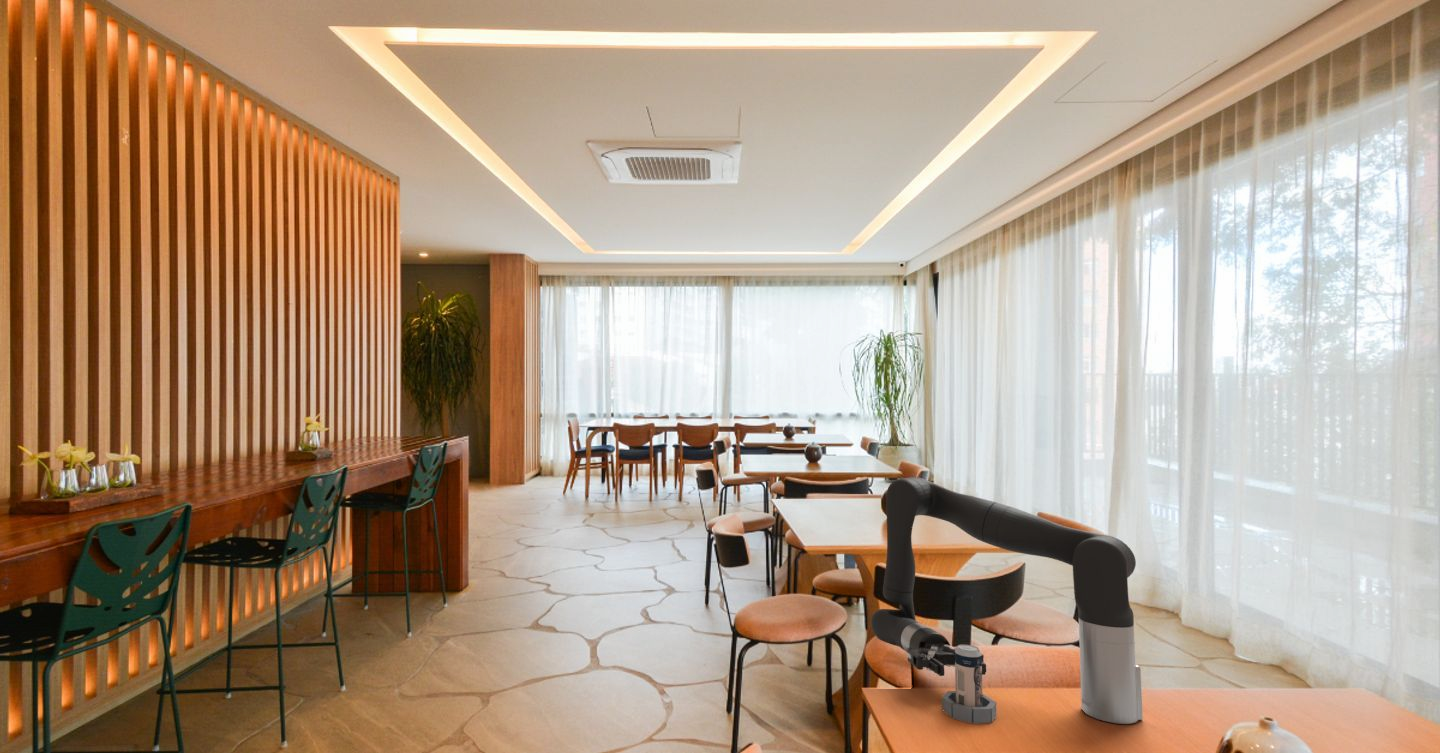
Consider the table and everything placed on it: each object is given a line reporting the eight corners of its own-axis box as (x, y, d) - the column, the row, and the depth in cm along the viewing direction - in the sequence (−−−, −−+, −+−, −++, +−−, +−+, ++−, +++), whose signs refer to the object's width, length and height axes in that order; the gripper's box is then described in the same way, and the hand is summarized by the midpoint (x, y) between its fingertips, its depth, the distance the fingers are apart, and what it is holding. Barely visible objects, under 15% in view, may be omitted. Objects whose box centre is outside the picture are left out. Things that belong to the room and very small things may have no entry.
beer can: (985, 719, 120) (983, 652, 121) (957, 717, 121) (956, 650, 122) (980, 709, 124) (978, 644, 126) (953, 707, 125) (953, 642, 127)
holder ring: (978, 703, 128) (978, 690, 128) (1005, 722, 119) (1004, 708, 119) (935, 704, 126) (935, 691, 127) (959, 724, 117) (959, 709, 118)
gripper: (893, 627, 141) (928, 650, 125) (955, 626, 143) (997, 649, 127) (893, 663, 140) (929, 691, 124) (955, 662, 142) (998, 689, 126)
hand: (963, 670), depth 125 cm, fingers open, 8 cm apart
